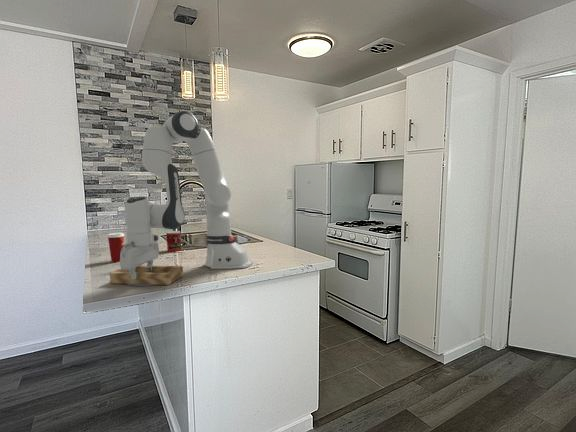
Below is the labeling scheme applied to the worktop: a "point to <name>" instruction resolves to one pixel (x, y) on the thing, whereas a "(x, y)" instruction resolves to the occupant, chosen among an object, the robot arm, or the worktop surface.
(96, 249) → the worktop surface
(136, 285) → the slate mat
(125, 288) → the worktop surface
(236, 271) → the worktop surface
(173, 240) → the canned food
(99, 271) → the worktop surface
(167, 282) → the oak link
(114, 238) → the paper cup
